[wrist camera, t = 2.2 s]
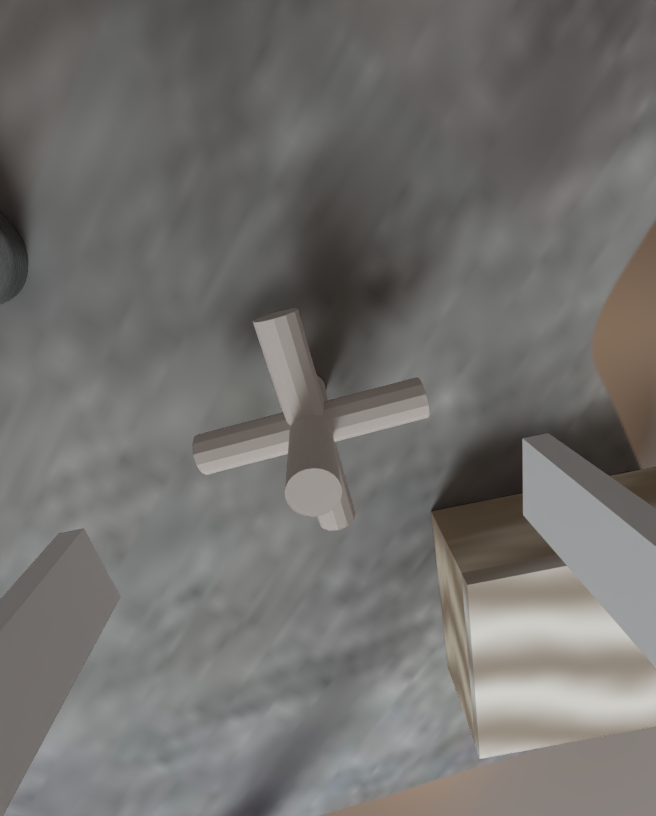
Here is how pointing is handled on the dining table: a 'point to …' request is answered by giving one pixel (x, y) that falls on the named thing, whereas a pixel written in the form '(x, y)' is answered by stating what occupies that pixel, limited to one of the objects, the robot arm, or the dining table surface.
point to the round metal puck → (11, 261)
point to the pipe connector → (307, 424)
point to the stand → (533, 633)
